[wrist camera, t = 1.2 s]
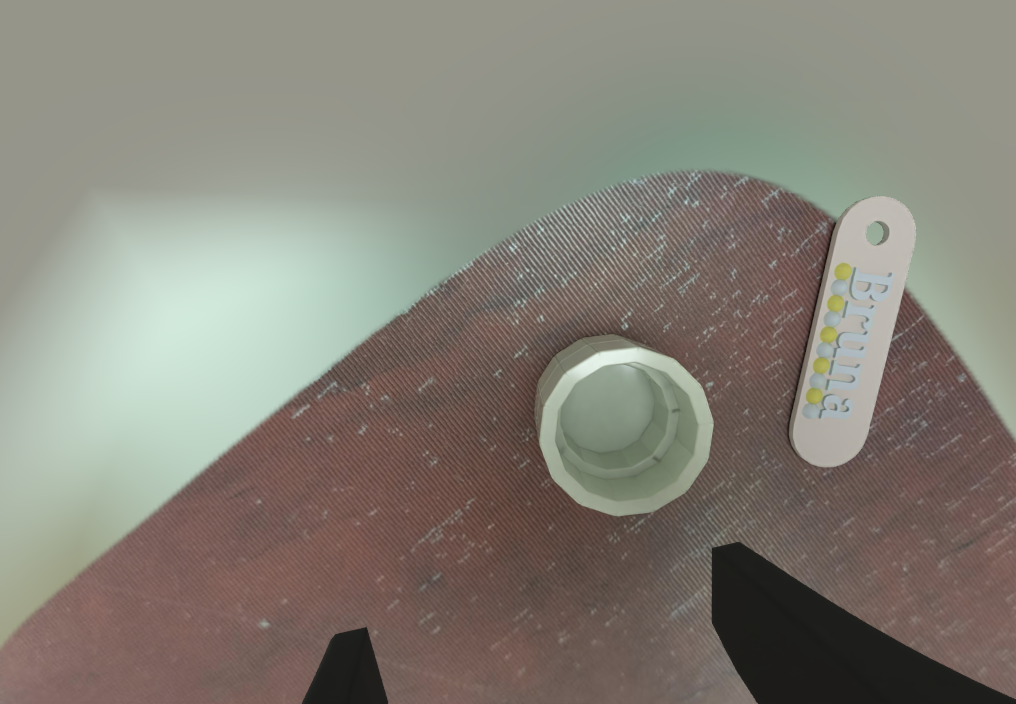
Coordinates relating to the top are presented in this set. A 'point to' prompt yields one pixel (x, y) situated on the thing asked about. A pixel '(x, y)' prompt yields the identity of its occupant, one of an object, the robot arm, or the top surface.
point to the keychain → (851, 332)
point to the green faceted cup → (621, 425)
